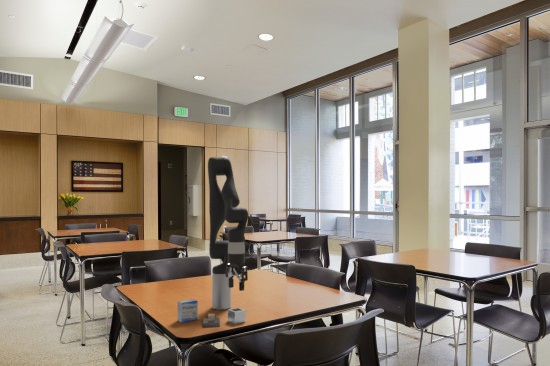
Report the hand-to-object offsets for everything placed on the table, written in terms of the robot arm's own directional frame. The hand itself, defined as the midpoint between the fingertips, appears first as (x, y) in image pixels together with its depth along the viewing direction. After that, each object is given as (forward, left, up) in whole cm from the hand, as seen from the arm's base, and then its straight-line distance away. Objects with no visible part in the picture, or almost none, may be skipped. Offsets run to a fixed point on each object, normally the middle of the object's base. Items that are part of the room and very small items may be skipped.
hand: (236, 289), depth 173 cm
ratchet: (-2, -11, -14) cm, 18 cm away
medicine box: (-6, -21, -14) cm, 26 cm away
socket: (0, 0, -14) cm, 14 cm away
